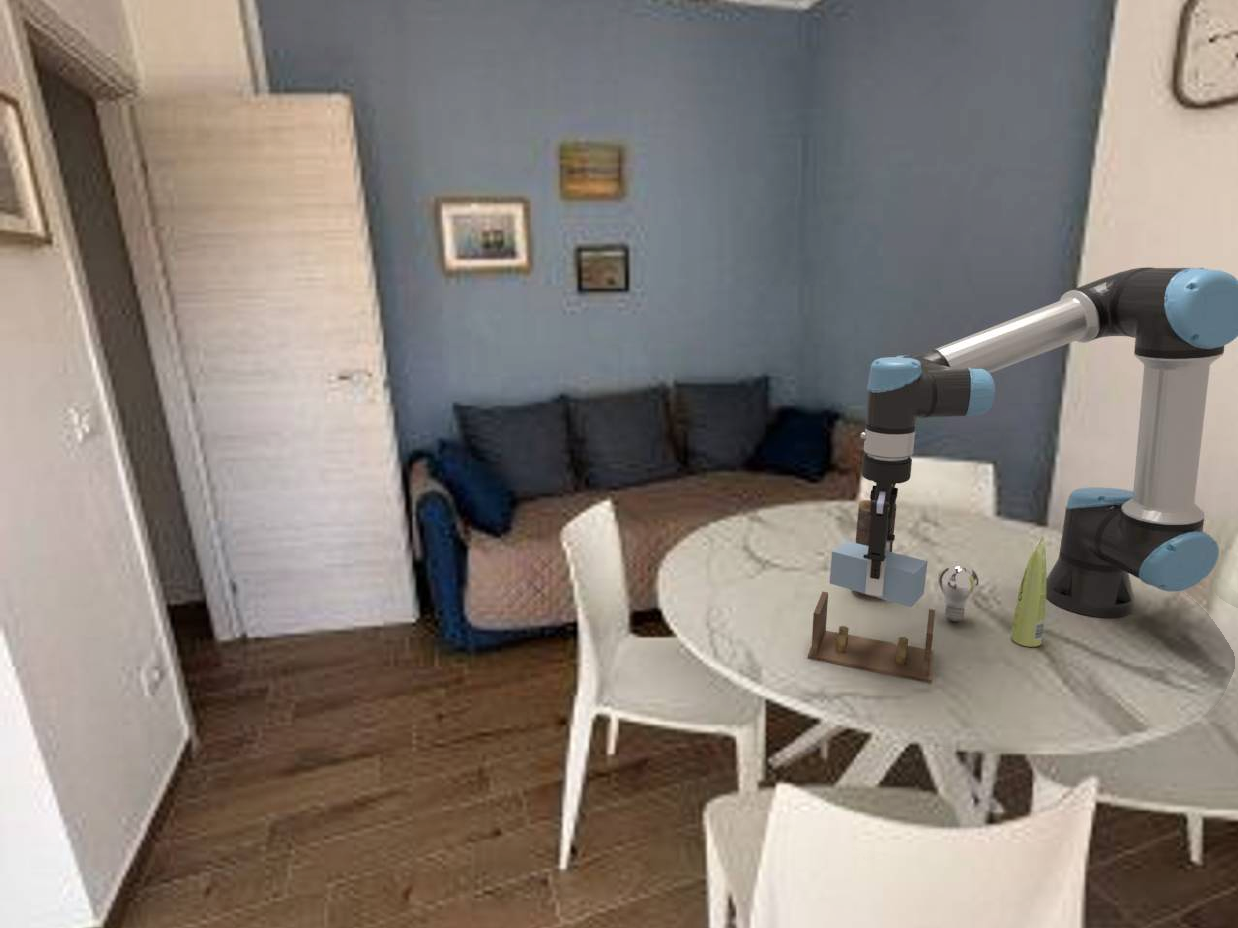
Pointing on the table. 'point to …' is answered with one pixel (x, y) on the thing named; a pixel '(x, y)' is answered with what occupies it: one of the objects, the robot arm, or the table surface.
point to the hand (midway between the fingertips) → (876, 584)
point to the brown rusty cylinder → (868, 526)
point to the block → (899, 578)
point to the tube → (1031, 600)
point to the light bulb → (957, 587)
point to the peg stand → (871, 649)
